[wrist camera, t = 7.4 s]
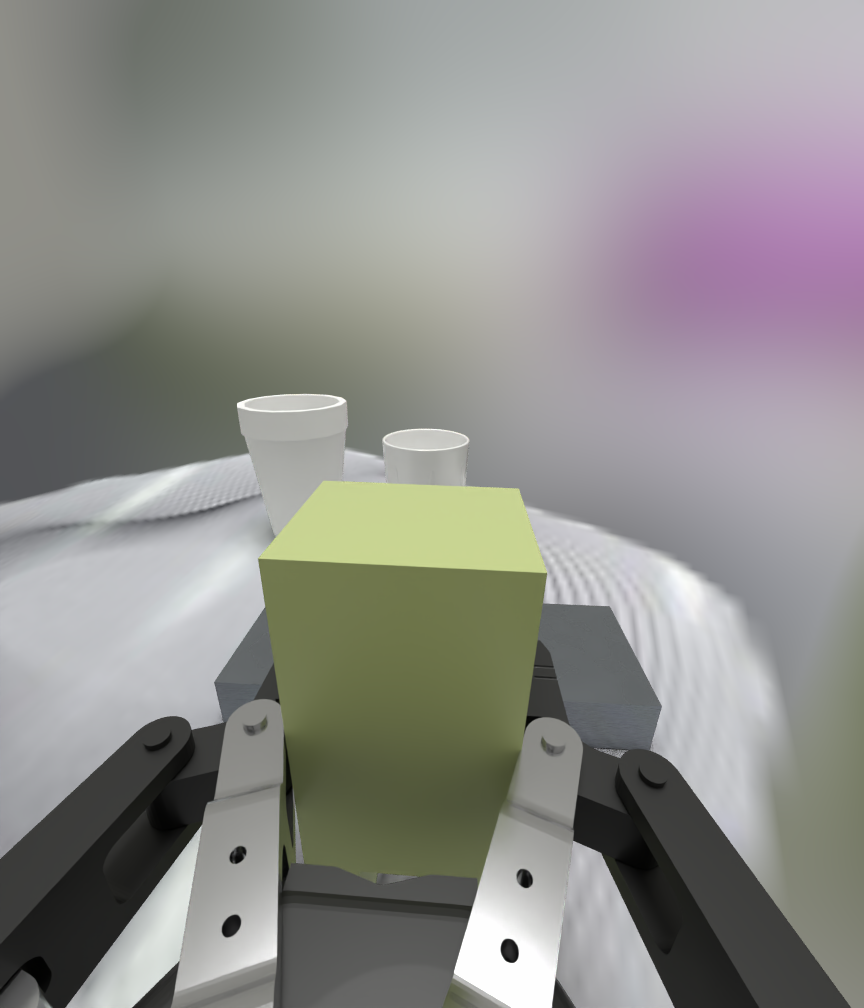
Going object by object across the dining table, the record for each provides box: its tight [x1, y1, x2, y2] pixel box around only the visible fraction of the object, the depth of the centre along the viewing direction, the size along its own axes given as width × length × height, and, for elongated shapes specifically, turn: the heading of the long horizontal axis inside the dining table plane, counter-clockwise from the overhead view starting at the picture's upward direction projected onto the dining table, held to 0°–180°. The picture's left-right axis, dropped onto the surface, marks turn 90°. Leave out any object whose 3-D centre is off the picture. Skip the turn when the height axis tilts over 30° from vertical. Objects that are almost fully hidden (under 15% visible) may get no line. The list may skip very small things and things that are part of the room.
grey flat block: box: [214, 604, 662, 750], centre depth 26 cm, size 22×8×3 cm, turn 87°
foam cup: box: [237, 394, 348, 538], centre depth 42 cm, size 10×9×13 cm
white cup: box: [383, 429, 469, 486], centre depth 42 cm, size 8×8×10 cm
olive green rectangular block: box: [258, 481, 547, 887], centre depth 12 cm, size 5×4×13 cm
